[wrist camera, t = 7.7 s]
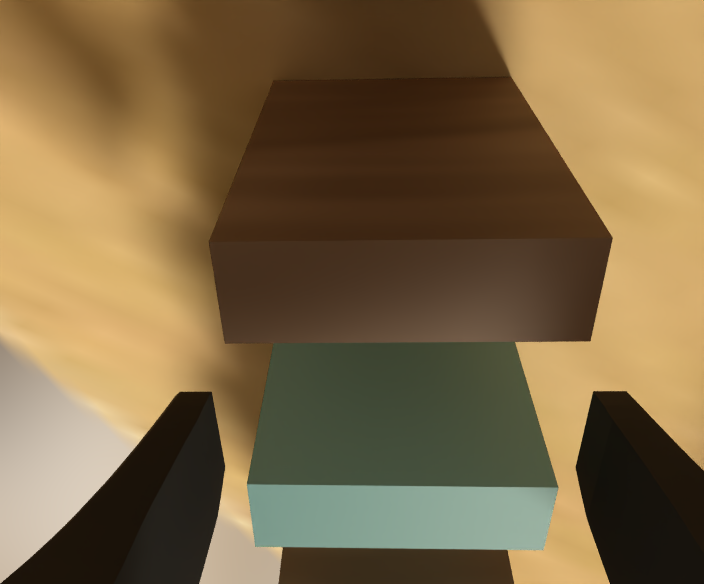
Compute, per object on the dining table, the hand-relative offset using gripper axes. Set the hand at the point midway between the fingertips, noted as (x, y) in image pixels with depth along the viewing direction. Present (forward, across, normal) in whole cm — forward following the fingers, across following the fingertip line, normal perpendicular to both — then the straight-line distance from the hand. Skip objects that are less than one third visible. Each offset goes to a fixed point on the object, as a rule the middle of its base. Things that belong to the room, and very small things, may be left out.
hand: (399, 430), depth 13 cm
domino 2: (+5, 0, -4) cm, 7 cm away
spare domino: (+5, 0, 0) cm, 5 cm away
